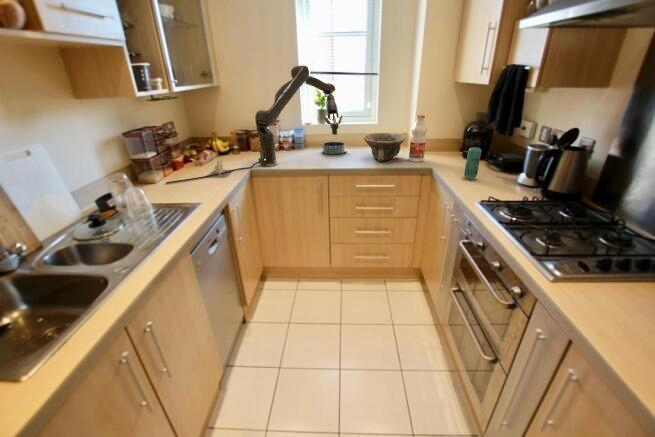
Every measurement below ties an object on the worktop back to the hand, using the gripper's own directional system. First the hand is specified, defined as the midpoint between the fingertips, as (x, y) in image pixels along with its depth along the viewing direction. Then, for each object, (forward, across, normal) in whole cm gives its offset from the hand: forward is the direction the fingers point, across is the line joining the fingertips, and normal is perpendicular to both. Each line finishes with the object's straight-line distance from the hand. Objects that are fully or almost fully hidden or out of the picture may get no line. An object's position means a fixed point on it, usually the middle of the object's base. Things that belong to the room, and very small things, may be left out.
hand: (335, 128), depth 220 cm
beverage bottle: (+65, +60, -40) cm, 97 cm away
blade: (+2, 0, +5) cm, 5 cm away
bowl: (+30, +28, -4) cm, 41 cm away
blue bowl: (+10, 0, +15) cm, 18 cm away
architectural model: (+36, -76, -12) cm, 85 cm away
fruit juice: (+35, +48, -10) cm, 60 cm away
